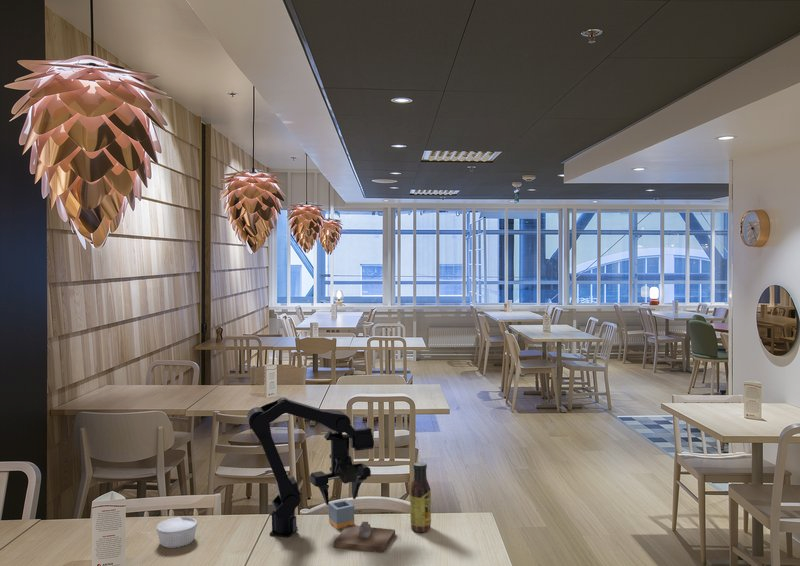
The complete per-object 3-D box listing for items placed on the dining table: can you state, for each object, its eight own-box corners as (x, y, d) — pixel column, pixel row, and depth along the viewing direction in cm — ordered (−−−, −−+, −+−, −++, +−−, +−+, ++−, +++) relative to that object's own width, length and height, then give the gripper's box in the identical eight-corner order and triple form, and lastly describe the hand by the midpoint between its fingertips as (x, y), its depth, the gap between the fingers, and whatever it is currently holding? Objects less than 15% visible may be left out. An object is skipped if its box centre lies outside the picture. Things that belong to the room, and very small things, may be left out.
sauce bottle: (429, 533, 189) (428, 468, 189) (408, 532, 190) (407, 467, 190) (432, 524, 196) (431, 461, 195) (412, 523, 197) (411, 460, 196)
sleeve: (336, 529, 194) (336, 509, 193) (328, 522, 199) (328, 503, 199) (354, 524, 197) (354, 505, 196) (346, 518, 202) (345, 499, 202)
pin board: (333, 547, 181) (333, 528, 181) (347, 529, 193) (347, 512, 193) (383, 552, 177) (383, 533, 177) (395, 534, 189) (394, 517, 189)
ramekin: (205, 537, 189) (205, 519, 189) (177, 552, 179) (177, 534, 179) (177, 531, 194) (176, 514, 194) (148, 546, 184) (148, 528, 184)
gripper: (322, 464, 185) (323, 517, 186) (378, 454, 195) (379, 504, 195) (308, 454, 195) (309, 504, 195) (362, 445, 204) (363, 493, 205)
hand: (340, 501), depth 197 cm, fingers open, 9 cm apart
